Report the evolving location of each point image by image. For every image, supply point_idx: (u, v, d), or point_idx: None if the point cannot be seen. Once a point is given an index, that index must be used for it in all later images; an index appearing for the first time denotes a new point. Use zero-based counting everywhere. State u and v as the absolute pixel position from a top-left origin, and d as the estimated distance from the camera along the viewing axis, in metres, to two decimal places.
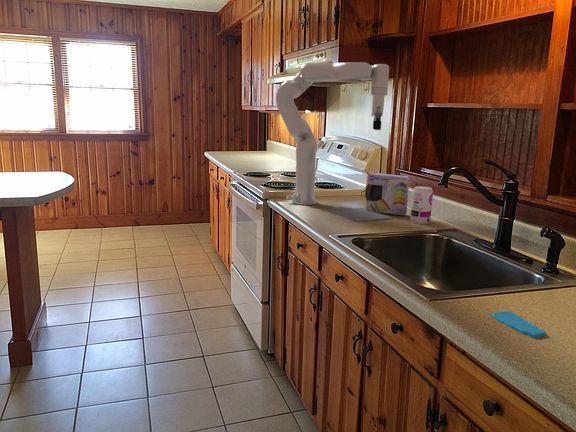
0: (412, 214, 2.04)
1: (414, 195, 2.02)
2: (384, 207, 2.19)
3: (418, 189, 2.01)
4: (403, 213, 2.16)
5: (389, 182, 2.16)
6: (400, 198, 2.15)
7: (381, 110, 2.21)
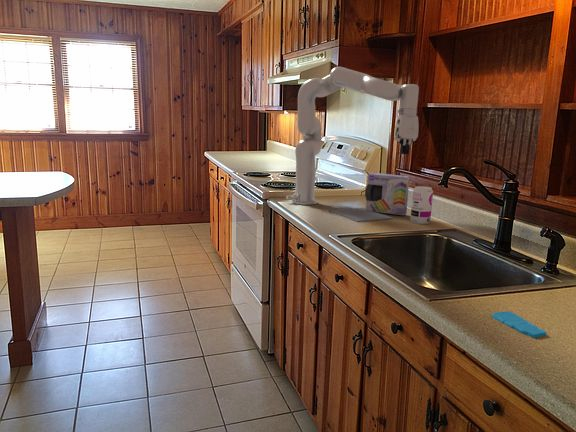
0: (412, 214, 2.04)
1: (414, 195, 2.02)
2: (384, 207, 2.19)
3: (418, 189, 2.01)
4: (403, 213, 2.16)
5: (389, 182, 2.16)
6: (400, 198, 2.15)
7: None
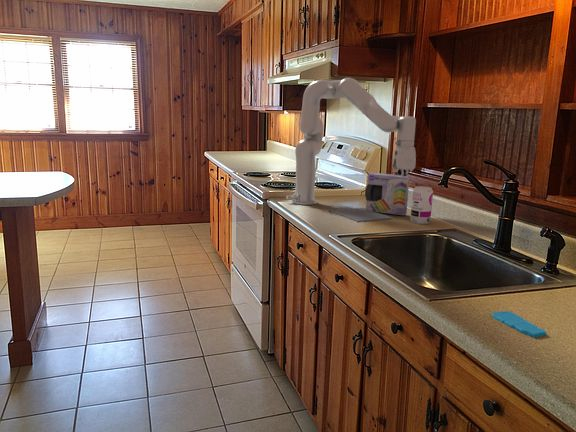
0: (412, 214, 2.04)
1: (414, 195, 2.02)
2: (384, 207, 2.19)
3: (418, 189, 2.01)
4: (403, 213, 2.16)
5: (389, 182, 2.16)
6: (400, 198, 2.15)
7: None
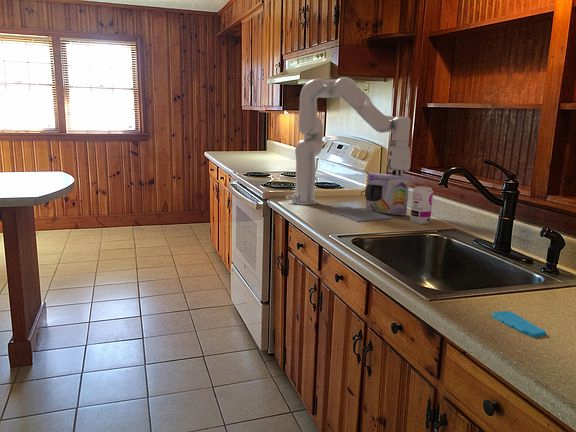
0: (412, 214, 2.04)
1: (414, 195, 2.02)
2: (384, 207, 2.19)
3: (418, 189, 2.01)
4: (403, 213, 2.16)
5: (389, 183, 2.16)
6: (400, 198, 2.15)
7: None
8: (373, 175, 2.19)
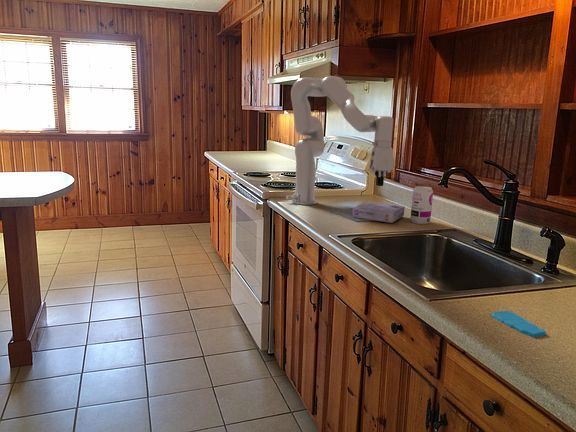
0: (412, 214, 2.04)
1: (414, 195, 2.02)
2: None
3: (418, 189, 2.01)
4: (402, 215, 2.15)
5: None
6: None
7: None
8: (357, 217, 2.08)
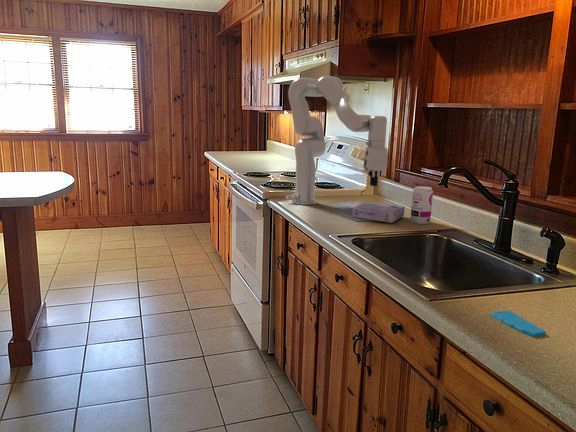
0: (412, 214, 2.04)
1: (414, 195, 2.02)
2: None
3: (418, 189, 2.01)
4: (402, 215, 2.15)
5: None
6: None
7: None
8: (357, 217, 2.08)
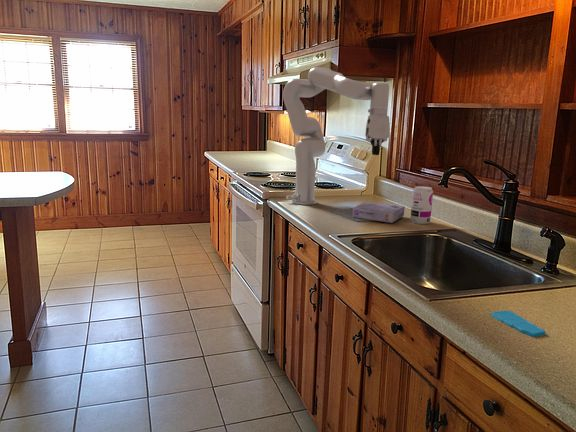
0: (412, 214, 2.04)
1: (414, 195, 2.02)
2: None
3: (418, 189, 2.01)
4: (402, 215, 2.15)
5: None
6: None
7: None
8: (357, 217, 2.08)
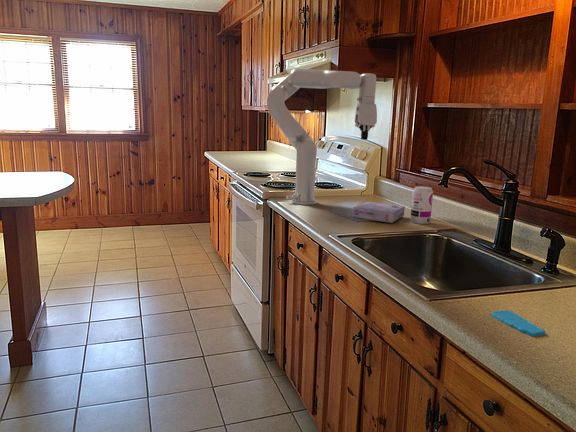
0: (412, 214, 2.04)
1: (414, 195, 2.02)
2: None
3: (418, 189, 2.01)
4: (402, 215, 2.15)
5: None
6: None
7: None
8: (357, 217, 2.08)
